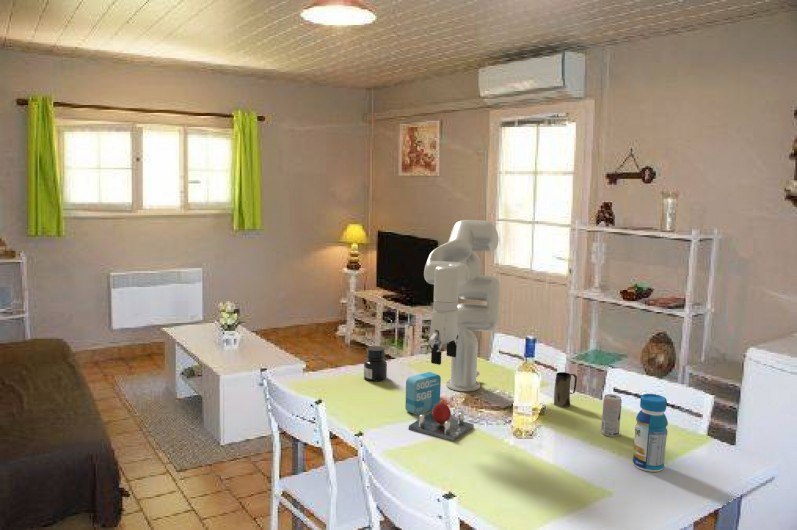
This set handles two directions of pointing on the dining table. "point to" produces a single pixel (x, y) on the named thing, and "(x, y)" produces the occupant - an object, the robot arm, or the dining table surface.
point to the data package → (422, 392)
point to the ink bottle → (375, 364)
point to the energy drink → (611, 415)
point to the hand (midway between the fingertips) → (443, 360)
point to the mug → (563, 389)
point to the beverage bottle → (650, 433)
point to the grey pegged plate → (442, 427)
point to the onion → (441, 412)
